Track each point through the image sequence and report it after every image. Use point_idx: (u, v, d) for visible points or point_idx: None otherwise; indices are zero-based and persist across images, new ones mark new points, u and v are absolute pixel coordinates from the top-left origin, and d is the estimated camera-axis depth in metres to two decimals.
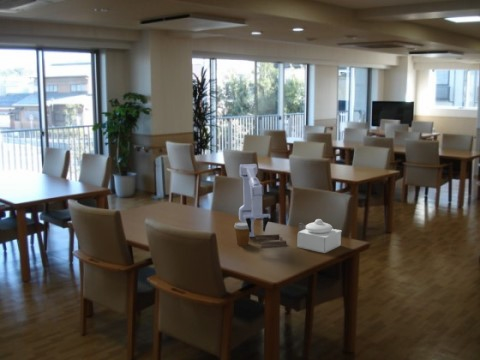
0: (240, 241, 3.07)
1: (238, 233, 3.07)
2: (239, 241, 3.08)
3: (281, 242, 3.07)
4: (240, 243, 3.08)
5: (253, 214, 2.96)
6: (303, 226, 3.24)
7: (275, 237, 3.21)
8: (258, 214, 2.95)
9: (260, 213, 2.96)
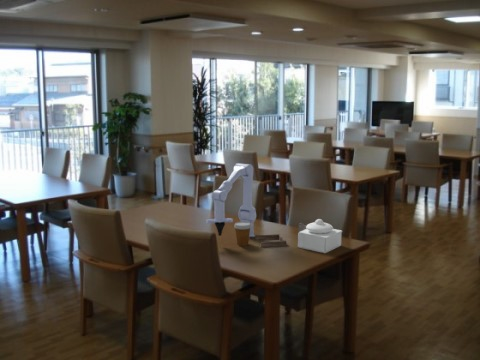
0: (240, 241, 3.07)
1: (238, 233, 3.07)
2: (239, 241, 3.08)
3: (281, 242, 3.07)
4: (240, 243, 3.08)
5: (216, 218, 3.04)
6: (303, 226, 3.24)
7: (275, 237, 3.21)
8: (220, 218, 3.03)
9: (222, 217, 3.04)
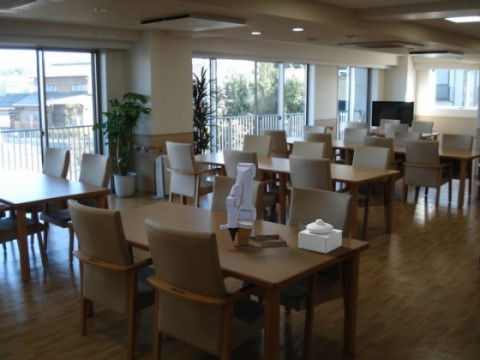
0: (241, 240, 3.07)
1: (240, 232, 3.07)
2: (240, 240, 3.08)
3: (281, 242, 3.07)
4: (240, 242, 3.08)
5: (229, 224, 3.06)
6: (303, 226, 3.24)
7: (275, 237, 3.21)
8: (234, 224, 3.05)
9: (236, 223, 3.06)
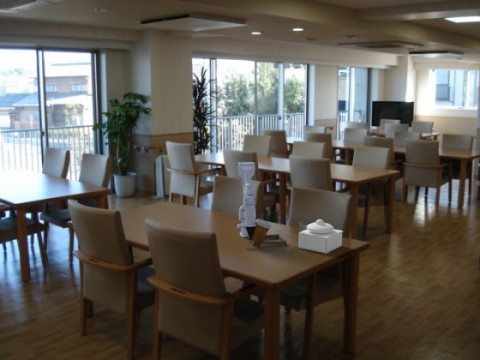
0: (255, 237, 3.09)
1: (257, 229, 3.08)
2: (254, 237, 3.09)
3: (281, 242, 3.07)
4: (255, 239, 3.09)
5: (246, 223, 3.08)
6: (303, 226, 3.24)
7: (275, 237, 3.21)
8: (251, 223, 3.07)
9: (253, 222, 3.07)
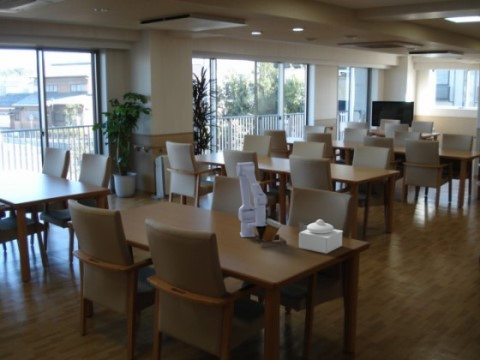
0: (266, 237, 3.10)
1: (267, 228, 3.09)
2: (265, 236, 3.10)
3: (281, 242, 3.07)
4: (265, 238, 3.10)
5: (257, 222, 3.09)
6: (303, 226, 3.24)
7: (275, 237, 3.21)
8: (262, 222, 3.08)
9: (263, 221, 3.08)
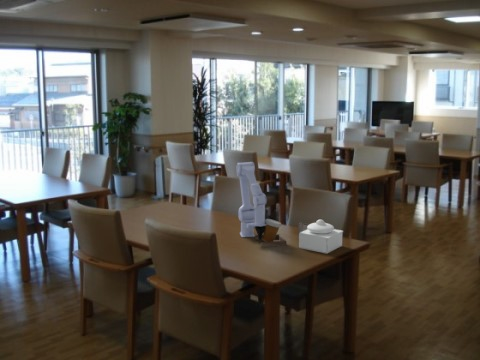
0: (266, 237, 3.10)
1: (267, 229, 3.09)
2: (265, 237, 3.10)
3: (281, 242, 3.07)
4: (266, 239, 3.10)
5: (256, 222, 3.09)
6: (303, 226, 3.25)
7: (275, 237, 3.21)
8: (261, 222, 3.08)
9: (263, 221, 3.08)
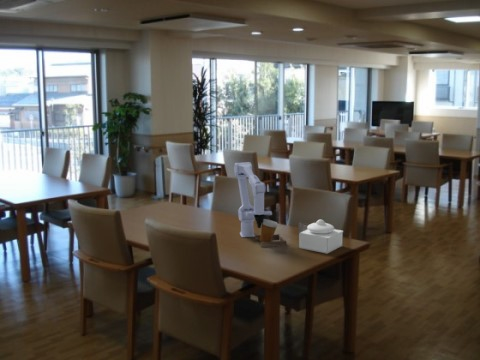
0: (264, 238, 3.10)
1: (264, 229, 3.09)
2: (263, 237, 3.10)
3: (281, 242, 3.07)
4: (263, 240, 3.10)
5: (255, 211, 3.07)
6: (303, 226, 3.25)
7: (275, 237, 3.21)
8: (260, 211, 3.07)
9: (262, 210, 3.07)
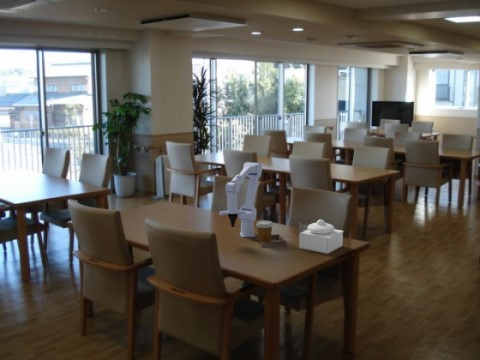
0: (262, 240, 3.10)
1: (260, 232, 3.09)
2: (261, 240, 3.10)
3: (281, 242, 3.07)
4: None
5: (229, 210, 3.09)
6: (303, 226, 3.25)
7: (275, 237, 3.21)
8: (233, 210, 3.08)
9: (235, 209, 3.08)
